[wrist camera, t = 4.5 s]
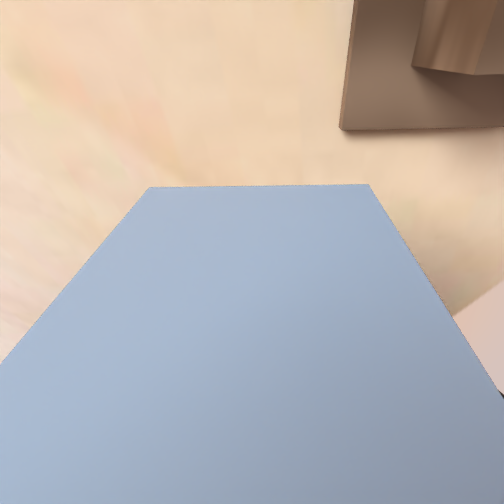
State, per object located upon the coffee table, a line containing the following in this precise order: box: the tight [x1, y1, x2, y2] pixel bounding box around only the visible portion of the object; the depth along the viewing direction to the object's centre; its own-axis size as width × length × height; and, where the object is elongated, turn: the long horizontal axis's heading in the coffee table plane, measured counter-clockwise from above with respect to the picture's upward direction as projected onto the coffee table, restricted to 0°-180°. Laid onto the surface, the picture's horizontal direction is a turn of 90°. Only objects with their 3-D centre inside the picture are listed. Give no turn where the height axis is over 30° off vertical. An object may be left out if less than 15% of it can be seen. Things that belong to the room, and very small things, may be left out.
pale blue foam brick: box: [0, 184, 504, 504], centre depth 6 cm, size 5×5×7 cm
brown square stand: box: [339, 0, 504, 130], centre depth 11 cm, size 8×8×6 cm
